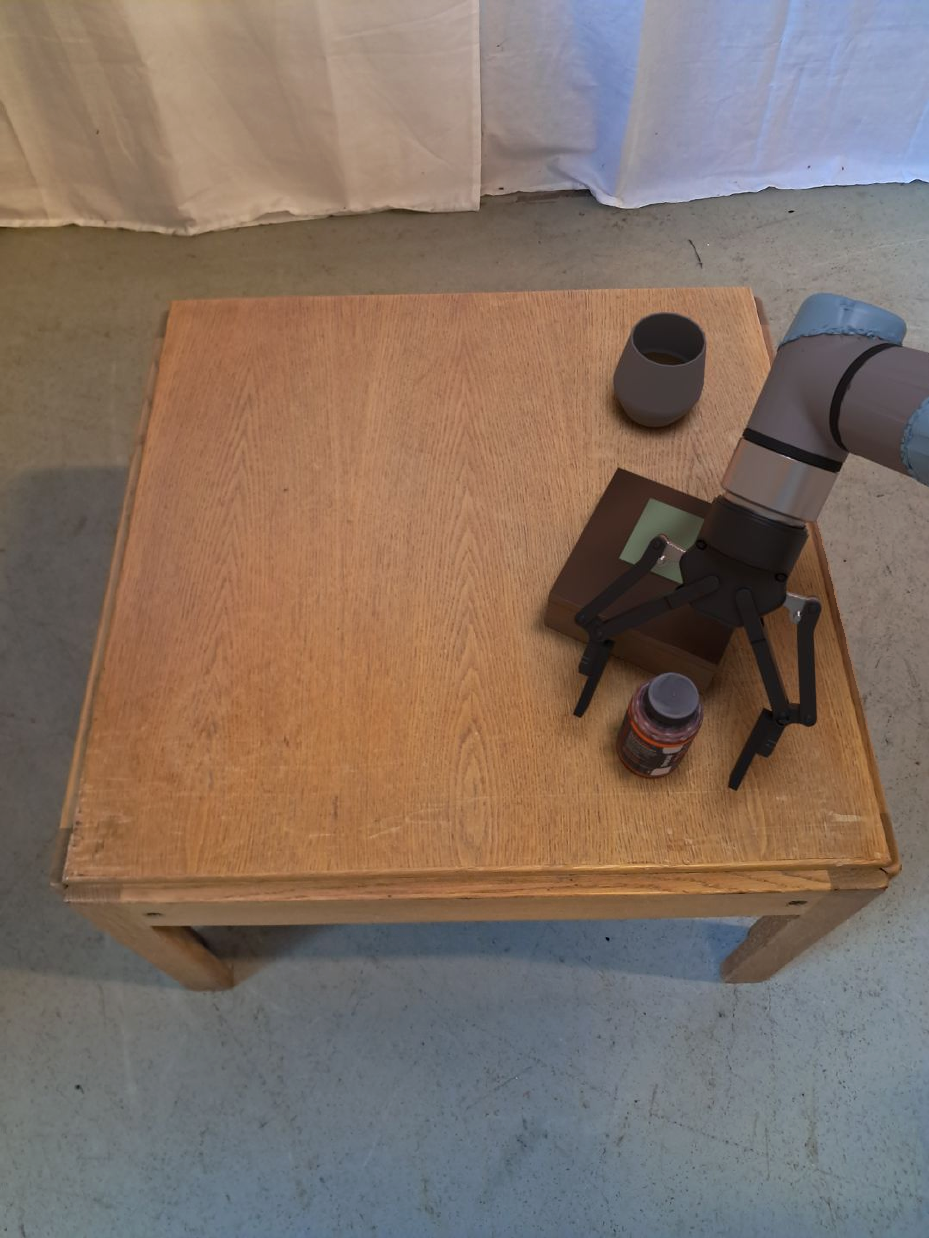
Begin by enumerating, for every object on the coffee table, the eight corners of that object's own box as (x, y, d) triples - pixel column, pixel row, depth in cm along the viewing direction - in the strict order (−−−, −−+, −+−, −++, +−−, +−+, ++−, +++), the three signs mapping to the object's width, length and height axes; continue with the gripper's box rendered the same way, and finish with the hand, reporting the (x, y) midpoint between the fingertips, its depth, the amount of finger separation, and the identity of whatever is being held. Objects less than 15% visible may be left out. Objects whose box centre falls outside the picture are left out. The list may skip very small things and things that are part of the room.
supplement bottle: (676, 788, 79) (705, 740, 69) (609, 769, 80) (627, 719, 70) (688, 726, 82) (717, 672, 72) (623, 708, 83) (643, 652, 73)
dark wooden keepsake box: (759, 563, 90) (777, 527, 84) (703, 695, 83) (719, 665, 78) (610, 503, 94) (618, 465, 88) (544, 625, 87) (548, 592, 81)
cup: (604, 435, 98) (617, 367, 89) (611, 371, 102) (624, 301, 94) (693, 445, 97) (715, 378, 88) (696, 380, 102) (717, 310, 93)
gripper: (923, 565, 69) (800, 795, 76) (620, 447, 75) (531, 671, 82) (937, 582, 62) (801, 834, 69) (602, 451, 68) (507, 696, 75)
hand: (654, 746), depth 76 cm, fingers open, 13 cm apart
